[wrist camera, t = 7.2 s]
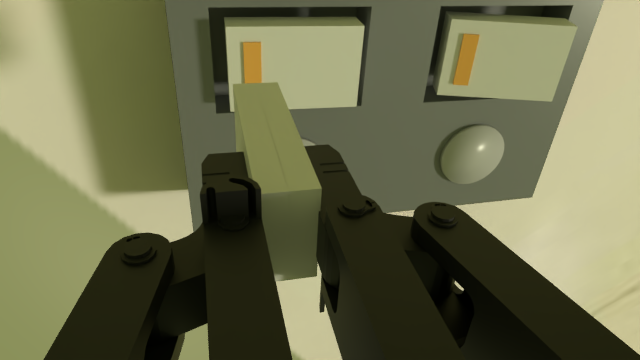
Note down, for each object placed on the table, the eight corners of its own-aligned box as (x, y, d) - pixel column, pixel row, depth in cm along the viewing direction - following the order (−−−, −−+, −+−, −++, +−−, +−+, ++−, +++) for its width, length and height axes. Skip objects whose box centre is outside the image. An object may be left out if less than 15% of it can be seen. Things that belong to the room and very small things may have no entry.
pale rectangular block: (348, 94, 23) (357, 107, 21) (228, 98, 21) (230, 112, 20) (355, 16, 21) (365, 26, 19) (224, 16, 19) (225, 27, 18)
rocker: (541, 90, 24) (552, 102, 23) (432, 83, 24) (437, 95, 23) (565, 18, 22) (578, 27, 21) (445, 11, 22) (452, 19, 21)
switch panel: (497, 163, 32) (534, 200, 29) (192, 189, 28) (193, 237, 24) (554, -27, 26) (612, -9, 22) (166, -32, 21) (162, -10, 18)
